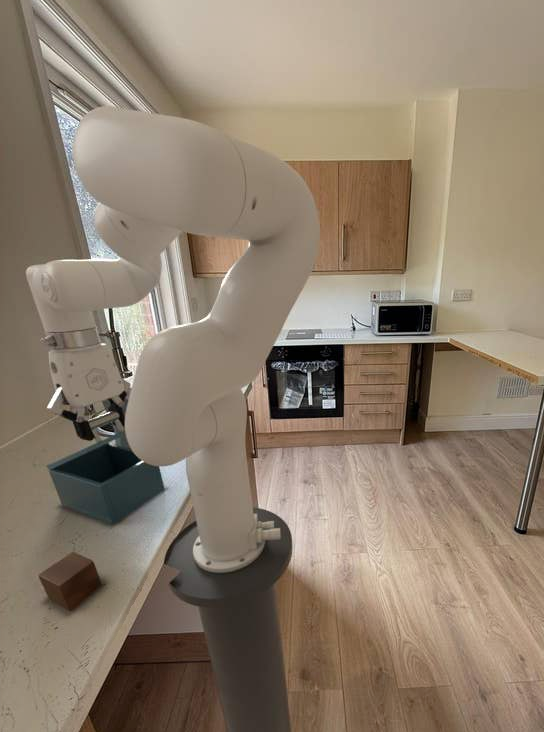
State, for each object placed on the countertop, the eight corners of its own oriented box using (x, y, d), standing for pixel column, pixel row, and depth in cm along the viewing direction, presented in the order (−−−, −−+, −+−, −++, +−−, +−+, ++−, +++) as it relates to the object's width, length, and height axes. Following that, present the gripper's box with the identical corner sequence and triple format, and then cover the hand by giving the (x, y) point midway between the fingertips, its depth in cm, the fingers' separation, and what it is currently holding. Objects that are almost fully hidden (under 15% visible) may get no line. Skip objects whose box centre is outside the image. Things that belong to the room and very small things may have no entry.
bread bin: (164, 489, 78) (156, 454, 75) (112, 525, 67) (100, 486, 64) (116, 475, 84) (107, 442, 81) (62, 505, 74) (48, 469, 70)
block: (81, 574, 56) (72, 551, 54) (102, 584, 55) (93, 560, 53) (49, 599, 52) (37, 575, 50) (70, 611, 50) (59, 586, 48)
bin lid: (147, 424, 72) (134, 401, 71) (87, 452, 61) (71, 425, 60) (107, 442, 81) (95, 422, 80) (48, 469, 70) (33, 446, 69)
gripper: (33, 350, 53) (71, 455, 60) (132, 332, 67) (153, 418, 74) (6, 349, 56) (45, 448, 63) (106, 332, 70) (129, 414, 77)
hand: (103, 431), depth 68 cm, fingers closed on bin lid, 6 cm apart
